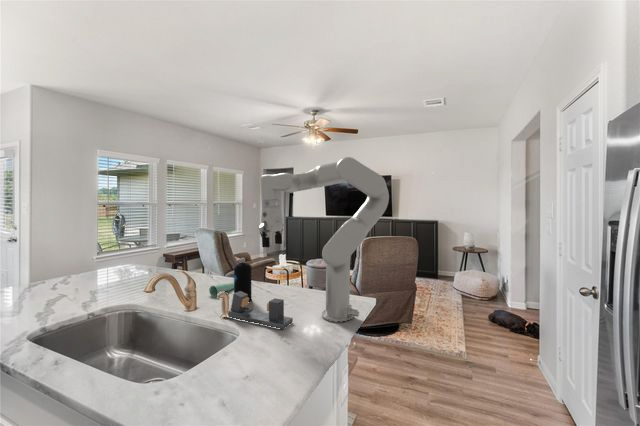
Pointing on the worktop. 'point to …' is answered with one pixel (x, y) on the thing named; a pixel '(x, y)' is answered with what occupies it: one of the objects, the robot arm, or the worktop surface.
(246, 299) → the dark grey block
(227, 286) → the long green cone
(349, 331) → the worktop surface
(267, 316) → the rail
